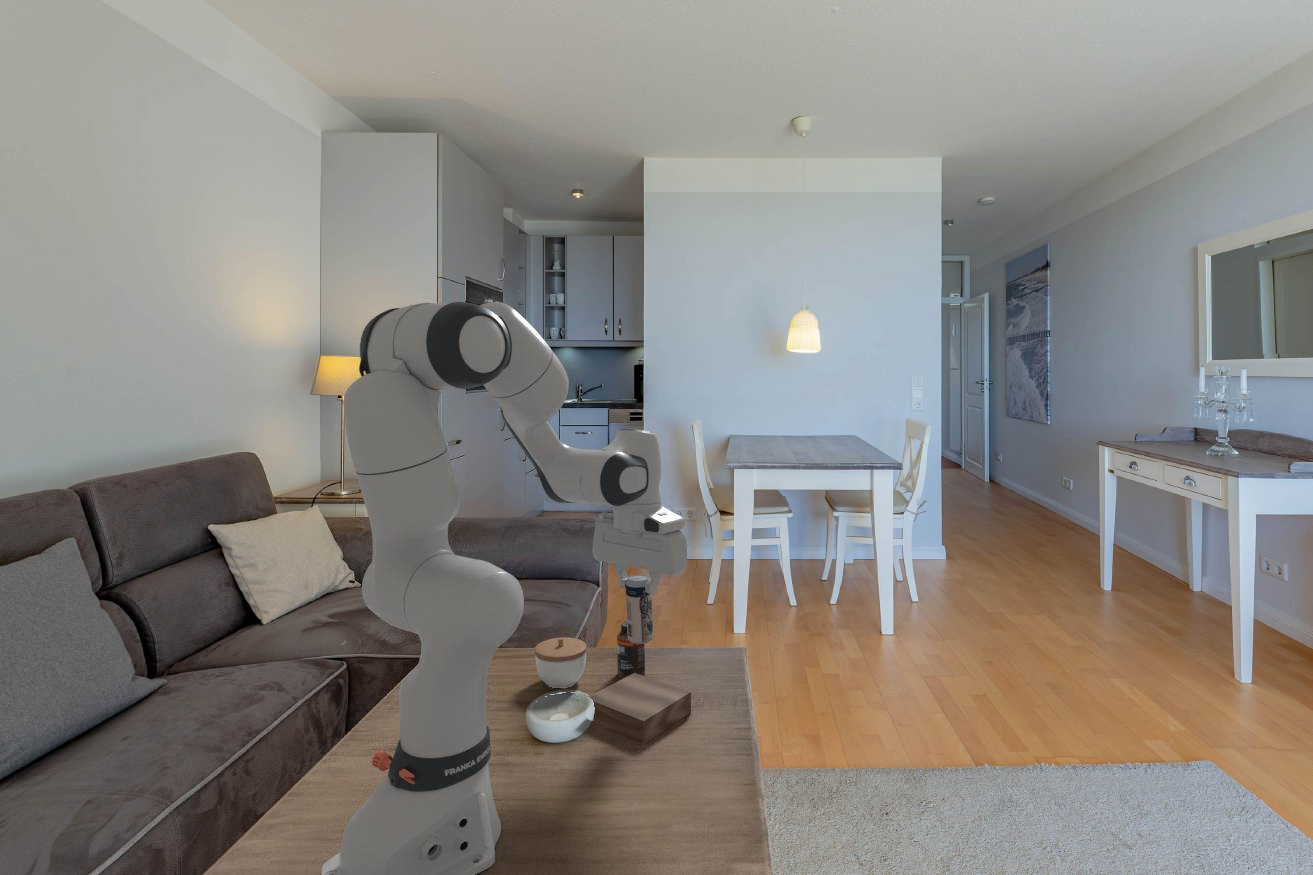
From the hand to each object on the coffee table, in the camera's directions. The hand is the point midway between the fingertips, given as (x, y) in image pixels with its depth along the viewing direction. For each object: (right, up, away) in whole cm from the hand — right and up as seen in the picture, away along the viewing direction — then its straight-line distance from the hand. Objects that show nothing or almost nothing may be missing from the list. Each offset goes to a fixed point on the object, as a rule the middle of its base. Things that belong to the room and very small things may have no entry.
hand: (638, 590), depth 121 cm
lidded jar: (-17, -23, +16) cm, 33 cm away
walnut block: (0, -24, +2) cm, 24 cm away
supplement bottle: (-2, -23, +20) cm, 30 cm away
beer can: (0, -10, +1) cm, 10 cm away
